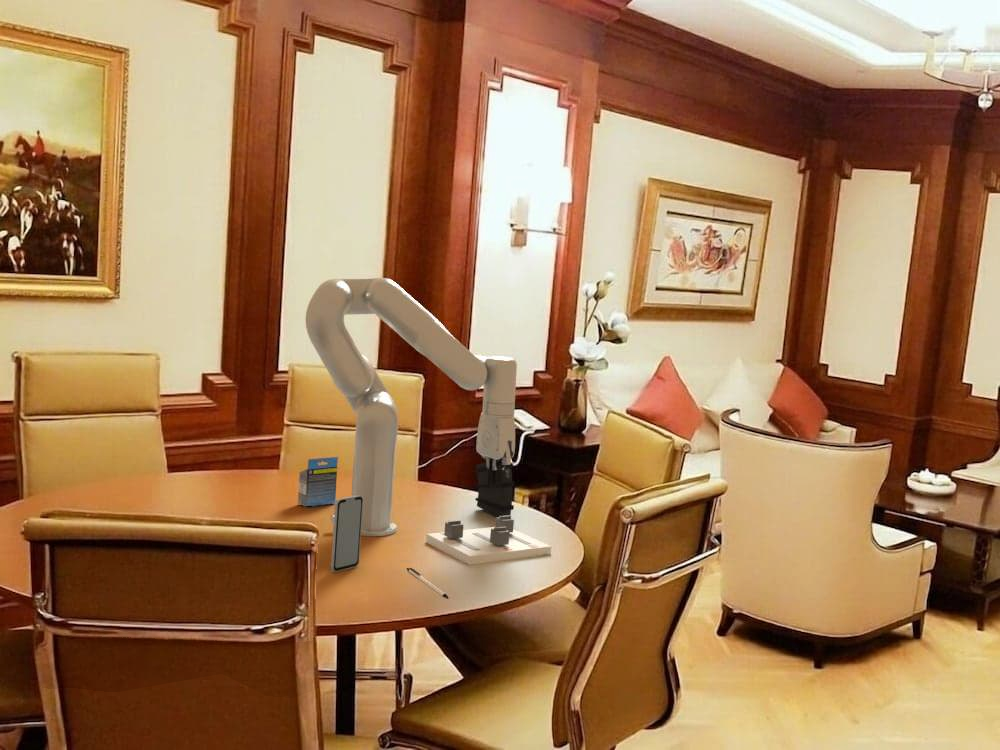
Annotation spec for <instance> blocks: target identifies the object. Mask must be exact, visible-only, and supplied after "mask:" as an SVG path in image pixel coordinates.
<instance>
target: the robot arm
mask: <svg viewBox="0 0 1000 750" xmlns="http://www.w3.org/2000/svg"><path fill="white" fill-rule="evenodd" d="M373 314H374V315H376V316H377V317H378V318H379V319H380V320H381V321H382V322H384V324H386V325H387V326H388V327H389V328H390V329H391V330H393V331H394V332H395V333H397V334H398V335H399V336H400V337H401V338H402V339H403V340H404V341H405V342H407V343H408V344H409V345H410V346H411V347H412V348H414V349H415V350H416V351H417V352H419V354H421V355H423V356H424V357H425V358H427V359H428V360H429V361H431V363H433V364H434V365H435V366H436V367H437V368H438V369H440V370H441V372H442V373H444V374H446V376H447V377H449V378H450V379H451V380H452V381H453V382H455V384H457V385H458V386H459V387H460V388H462V389H464V390H466V391H476V390H479V389H481V387H483V394H482V395H483V396H482V410H481V411H482V412H481V413H480V416H479V419H478V420H479V421H478V426H477V427H478V428H477V433H476V435H477V436H476V444H475V445H476V448H475V449H476V453H478V454H479V455H480V456H481V457H482V458H483V459H484V460H485V463H486V466H487V468H488V476H487V485H488V486H491V487H495V486H501V485H502V473H503V470H504V467H505V465H510V464H511V463H512V459H513V458H514V455H515V450H516V423H515V406H516V403H515V402H516V387H517V368H518V366H517V365H518V363H517V361H516V359H514V358H512V357H508V356H490V357H489V356H488V357H487V356H484V355H483V356H481V355H477V354H476V355H475V354H473V353H472V352H471V351H470V350H469V349H468V348H466V346H464V344H462V343H461V342H460V341H459V340H458V339H457V338H456V337H454V335H452V334H451V333H450V332H449V330H447V329H446V327H445V326H444V325H443V324H442V323H441V321H439V320H438V318H436V317H435V316H434V315H433V314H432V313H431V312H429V310H428V309H426V308H425V307H424V306H423V305H421V304H420V303H419V302H418V301H417V300H415V299H414V298H413V297H412V296H411V295H410V294H409V293H408V292H406V291H405V290H404V288H402V287H401V286H400V285H399V284H397V283H396V282H395V281H393V280H392V279H390V278H386V277H376V278H341V279H340V278H333V279H328V280H325V281H323V282H322V283H321V284H320V285H318V287H317V289H316V290H315V292H314V293H313V295H312V297H311V299H310V301H309V302H308V305H307V308H306V312H305V328H306V332H307V335H308V338H309V341H310V342H311V344H312V345H313V347H314V349H315V351H316V353H317V354H318V356H319V358H320V360H321V362H322V364H323V365H324V367H325V369H326V370H327V372H328V374H329V376H330V377H331V379H332V382H333V384H334V386H335V387H336V389H337V390H338V391H339V392H340V393H341V394H342V395H343V396H344V398H345V399H346V401H347V403H348V404H349V406H350V407H351V409H352V411H353V412H354V414H355V416H356V420H355V435H354V436H355V437H354V438H355V439H354V451H353V452H354V453H353V469H352V471H353V472H352V483H351V484H352V486H351V496H356V495H360V496H362V497H363V511H362V526H361V537H362V536H364V537H385V536H391V535H393V534H395V533H397V530H398V528H397V527H398V525H397V524H396V523H395V522H393V521H392V511H393V510H392V508H393V493H394V479H395V463H396V462H395V461H396V452H397V451H396V450H397V439H398V433H399V432H398V431H399V421H400V419H399V417H400V416H399V412H398V409H397V406H396V403H395V401H394V399H393V397H392V395H391V394H390V393H389V391H388V389H387V388H386V385H385V384H384V382H383V381H382V379H381V377H380V376H379V374H378V373H377V371H376V369H375V368H374V366H373V364H372V363H371V361H370V360H369V358H367V357H366V356H365V355H363V354H362V352H361V351H360V350H359V348H358V347H357V344H356V343H355V341H354V340H353V337H352V336H351V334H350V333H349V331H348V329H347V327H346V325H345V324H346V323H345V315H346V316H347V315H373ZM330 523H331V524H333V525H334V515H331V516H330Z"/></svg>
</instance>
